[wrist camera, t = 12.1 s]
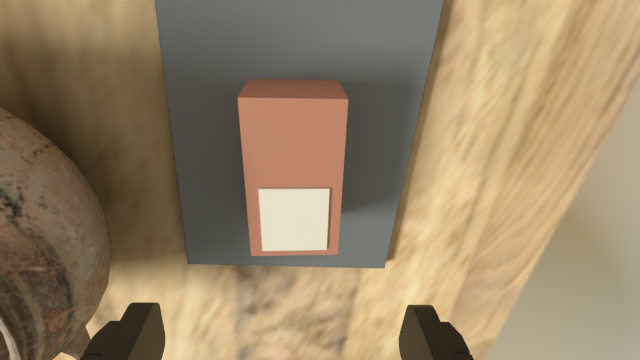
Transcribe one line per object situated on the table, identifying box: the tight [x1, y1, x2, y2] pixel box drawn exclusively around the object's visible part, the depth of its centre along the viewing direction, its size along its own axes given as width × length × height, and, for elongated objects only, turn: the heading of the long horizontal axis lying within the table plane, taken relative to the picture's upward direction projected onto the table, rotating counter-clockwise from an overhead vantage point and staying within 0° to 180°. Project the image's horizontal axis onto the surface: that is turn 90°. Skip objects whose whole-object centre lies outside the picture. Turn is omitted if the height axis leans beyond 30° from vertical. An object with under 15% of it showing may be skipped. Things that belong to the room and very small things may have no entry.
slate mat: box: [155, 0, 444, 268], centre depth 24 cm, size 16×20×1 cm
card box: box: [238, 79, 348, 256], centre depth 21 cm, size 10×6×5 cm, turn 178°
